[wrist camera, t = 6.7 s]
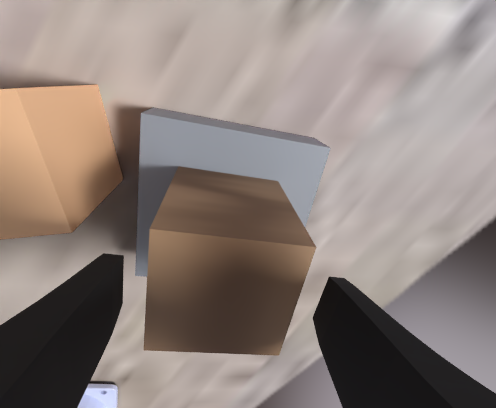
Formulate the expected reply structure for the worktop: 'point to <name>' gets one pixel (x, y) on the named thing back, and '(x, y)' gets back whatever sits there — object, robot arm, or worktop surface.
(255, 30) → the worktop surface
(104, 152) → the orange faceted block
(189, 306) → the walnut cube
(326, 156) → the gray slab
